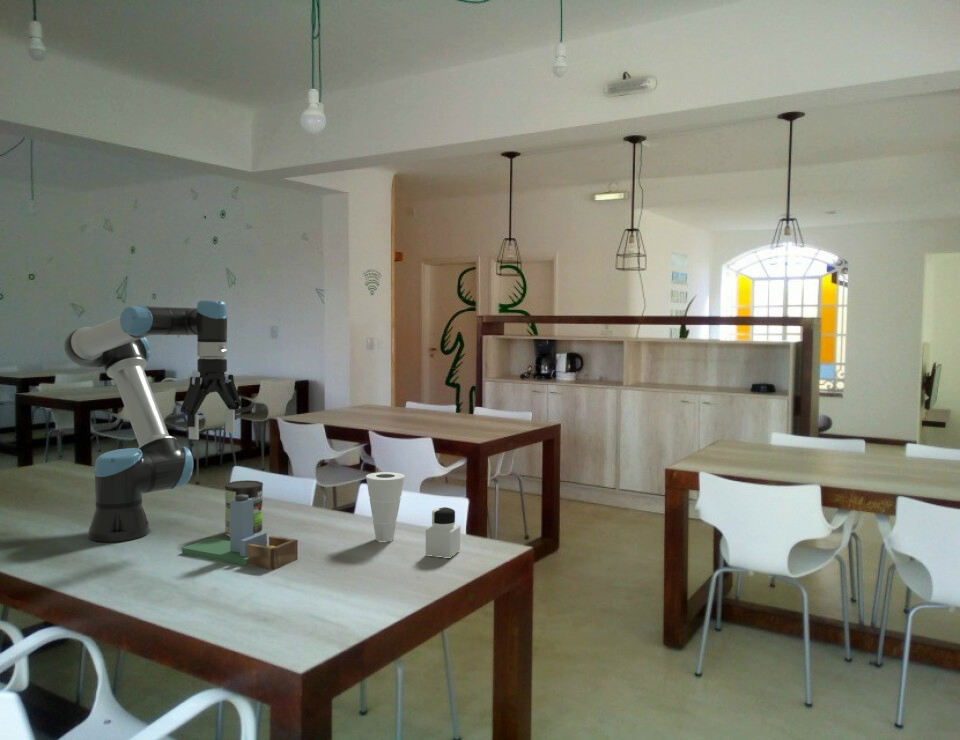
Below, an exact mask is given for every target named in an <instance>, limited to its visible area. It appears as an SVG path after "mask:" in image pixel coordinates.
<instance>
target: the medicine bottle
mask: <svg viewBox="0 0 960 740" xmlns="http://www.w3.org/2000/svg"><path fill="white" fill-rule="evenodd" d="M459 550H460V551H461V525H459V524H456V511H455V509H453V508H451V507H443V506H442V507H441V506H440V507H435V508H434V509H433V510H431V525H430V526H429V527H428V528H426V529H425V556H426V555H432V556H442V557H452V556H453V555H454V554H456V553H457V552H458V551H459ZM458 553H459V552H458ZM458 553H457V554H458ZM457 554H456V555H457ZM453 557H454V556H453ZM453 557H452V558H453Z"/></svg>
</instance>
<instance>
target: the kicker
mask: <svg viewBox="0 0 960 740" xmlns="http://www.w3.org/2000/svg"><path fill="white" fill-rule="evenodd" d="M267 534H268V533H267V532H264V531H263V532H261V533H258V534H255V535H253V499H251V498H248V495H246V494H240V495H236V496H235V499H233V500H230V537H229V538H230V539H229V541H230V551H233V552H239V553H240V556H243V557H246V556H248V545H250V544H256V545H262V546H267V545H268V544H267V541H268V537H267V536H268V535H267Z"/></svg>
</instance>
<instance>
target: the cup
mask: <svg viewBox="0 0 960 740" xmlns="http://www.w3.org/2000/svg"><path fill="white" fill-rule="evenodd" d="M405 476H406V475H405V474H403V473H400V472H393V471H392V472H391V471H380V472H372V473H368V474H367V475H365V478H366V485H367V491H368V497H369V503H370V504H369V505H370V510H371V511H370V512H371V517H372V519H373V520H372V523H373V528H374V531H373V532H374V535H375V541H376V540H377V541H376V542H378V541H391V540H393V541H394V538H395V534H396V533H395V532H396V527H397V520H398V515H399V510H400V505H401V499H402V498H401V497H402V493H403V489H404V488H403V487H404V483H405V482H404V481H405ZM391 542H392V541H391Z"/></svg>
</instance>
